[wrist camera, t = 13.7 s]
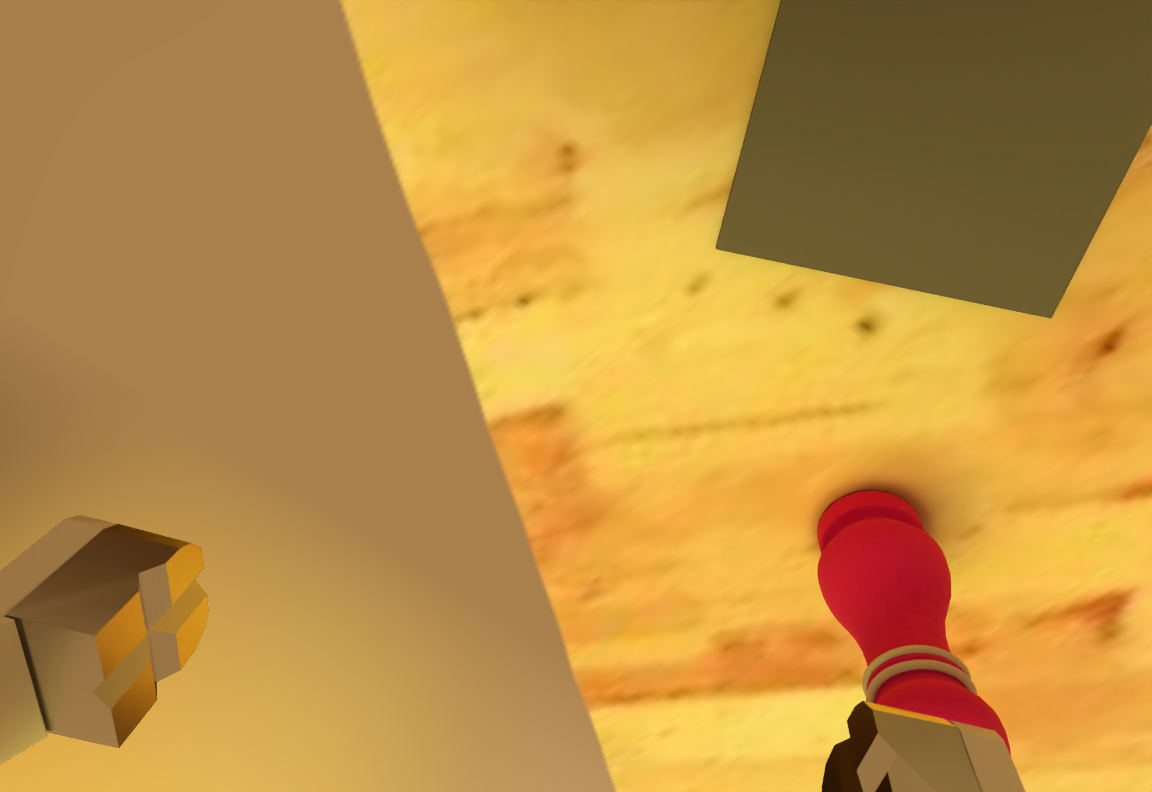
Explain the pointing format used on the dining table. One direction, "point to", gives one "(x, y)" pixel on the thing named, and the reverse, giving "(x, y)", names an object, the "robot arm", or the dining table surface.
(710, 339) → the dining table surface
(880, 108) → the rubber mat
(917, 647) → the pepper mill
